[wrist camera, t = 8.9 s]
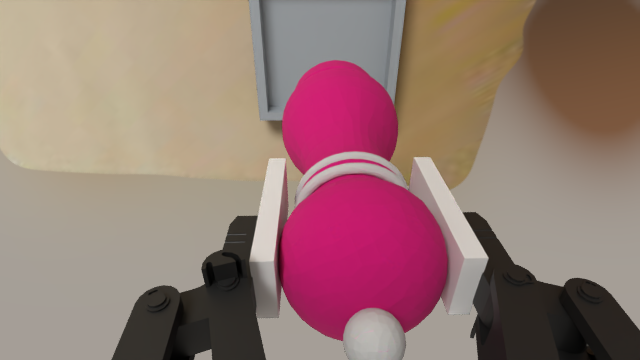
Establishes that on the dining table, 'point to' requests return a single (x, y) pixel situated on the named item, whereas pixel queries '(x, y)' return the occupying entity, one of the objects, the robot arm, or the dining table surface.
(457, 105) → the dining table surface
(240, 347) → the robot arm
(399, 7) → the tray
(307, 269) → the pepper mill
